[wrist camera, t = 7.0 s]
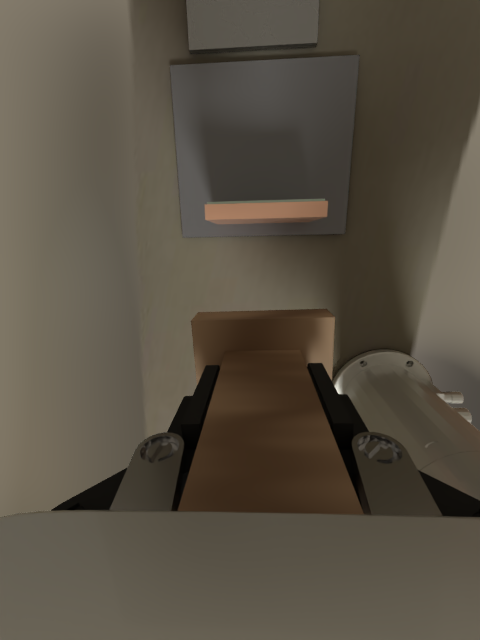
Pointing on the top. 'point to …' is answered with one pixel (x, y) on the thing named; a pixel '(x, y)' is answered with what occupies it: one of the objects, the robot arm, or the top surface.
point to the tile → (266, 211)
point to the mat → (264, 139)
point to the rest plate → (251, 25)
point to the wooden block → (266, 417)
